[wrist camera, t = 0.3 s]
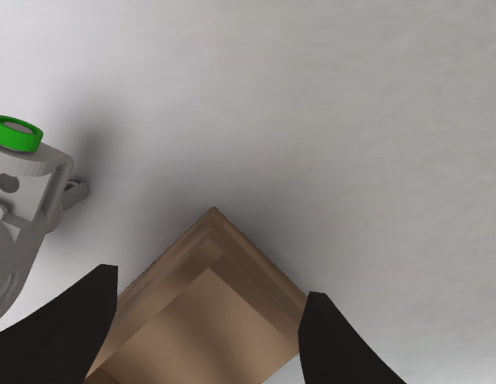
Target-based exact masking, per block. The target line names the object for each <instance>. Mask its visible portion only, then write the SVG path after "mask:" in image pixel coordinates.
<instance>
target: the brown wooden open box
mask: <svg viewBox="0 0 496 384" xmlns="http://www.w3.org/2000/svg"><path fill="white" fill-rule="evenodd" d="M307 299H308V297H307V296H306V295H305V294H304V293H303V292H302V291H301V290H300V289H299V288H298V287H297V286H296V285H295V284H294V283H293V282H292V281H291V280H290V279H289V278H287V277H286V276H285V275H284V274H283V273H282V272H281V271H280V270H279V269H278V268H277V267H276V266H275V265H274V264H273V263H272V262H271V261H270V260H269V259H268V258H267V257H266V256H265V255H264V254H263V253H262V252H261V251H260V250H259V249H258V248H257V247H256V246H254V245H253V244H252V243H251V242H250V241H249V240H248V239H247V238H246V237H245V236H244V235H243V234H242V233H241V232H240V231H239V230H238V229H237V228H236V227H235V226H234V225H233V224H232V223H231V222H230V221H229V220H228V219H227V218H226V217H225V216H224V215H223V214H222V213H220V212H219V211H218V210H217V209H216V208H215V207H213V208H211V209H210V210H209V211H208V212H207V213H206V214H205V215H204V216H203V217H202V218H201V219H200V220H199V221H198V222H197V223H196V224H194V225H193V226H192V227H191V228H190V229H189V230H188V231H187V232H186V233H185V234H184V235H183V236H182V237H181V238H180V239H178V240H177V241H176V242H175V243H174V244H173V245H172V246H171V247H170V248H169V249H168V250H167V251H166V252H165V253H164V254H162V255H161V256H160V257H159V258H158V259H157V260H156V261H155V262H154V263H153V264H152V265H151V266H150V267H149V268H148V269H146V270H145V271H144V272H143V273H142V274H141V275H140V276H139V277H138V278H137V279H136V280H135V281H134V282H133V283H132V284H130V285H129V286H128V287H127V288H126V289H125V290H124V291H123V292H122V293H121V294H120V295H119V296H118V297H117V310H116V313H115V316H114V319H113V321H112V324H111V327H110V329H109V332H108V335H107V337H106V339H105V341H104V343H103V345H102V347H101V349H100V351H99V353H98V355H97V357H96V358H95V360H94V362H93V364H92V366H91V368H90V370H89V372H88V374H87V376H86V378H85V380H84V381H83V383H82V384H261V383H262V382H264V381H265V380H266V379H267V378H269V377H270V376H271V375H272V374H273V373H275V372H276V371H277V370H278V369H280V368H281V367H282V366H283V365H284V364H286V363H287V362H288V361H289V360H291V359H292V358H293V357H294V356H296V355H297V354H298V353H299V344H298V329H299V325H300V322H301V319H302V315H303V312H304V309H305V305H306V302H307Z"/></svg>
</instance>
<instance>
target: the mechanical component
mask: <svg viewBox="0 0 496 384" xmlns="http://www.w3.org/2000/svg"><path fill="white" fill-rule="evenodd" d="M42 137H43V132H42V131H41V130H40V129H39V128H37V127H35V126H33V125H32V124H29V123H27V122H25V121H22V120H19V119H16V118H12V117H8V116H2V115H0V318H1V317H2V316H3V315H4V314H5V313H6V312H7V311H8V309H9V308H10V307H11V306H12V304H13V303H14V302H15V300H16V298H17V297H18V295H19V294H20V292H21V290H22V288H23V286H24V284H25V282H26V279H27V277H28V275H29V272H30V270H31V267H32V265H33V263H34V260H35V258H36V255H37V253H38V251H39V248H40V246H41V243H42V241H43V239H44V236H45V234H47V233H50V232H52V231H53V230H55V229H56V228H57V227H58V226H59V225H60V223H61V220H62V217H63V212H64V211H65V210H67V209H68V208H70V207H71V206H73V205H75V204H76V203H78V202H79V201H81V200H82V199H84V198H85V197H86V196H87V195H88V192H89V187H88V184H86V183H84V182H82V183H80V184H79V183H77V182H76V180H77V179H76V178H75V177H70V178H69V176H70V174H71V171H72V167H73V158H72V157H71V156H69V155H67V154H65V153H63V152H61V151H59V150H57V149H55V148H53V147H50V146H48V145H46V144H44V143H42V142H41V139H42Z"/></svg>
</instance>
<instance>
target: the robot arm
mask: <svg viewBox="0 0 496 384" xmlns="http://www.w3.org/2000/svg"><path fill="white" fill-rule="evenodd" d="M117 284H118V266H113V265H105V264H100V265H99V266H97V267H96V268H95V269H93V270H92V271H91V272H89V273H88V274H87V275H85V276H84V277H83V278H82V279H80V280H79V281H78V282H76V283H75V284H74V285H72V286H71V287H70V288H68V289H67V290H65V291H64V292H63V293H61V294H60V295H59V296H57V297H56V298H54V299H53V300H52V301H50V302H49V303H47V304H46V305H44V306H43V307H41V308H39V309H38V310H36V311H35V312H33V313H32V314H30V315H29V316H27V317H26V318H24V319H22V320H21V321H19V322H17V323H16V324H14V325H12V326H10V327H8V328H7V329H5V330H3V331H1V332H0V384H82V383H83V381H84V380H85V378H86V376H87V374H88V372H89V370H90V368H91V366H92V364H93V362H94V360H95V358H96V357H97V355H98V353H99V351H100V349H101V347H102V345H103V343H104V341H105V339H106V337H107V335H108V332H109V329H110V327H111V324H112V321H113V319H114V316H115V313H116V310H117ZM298 344H299V354H300V361H301V366H302V370H303V375H304V380H305V384H406V383H405V382H404V381H403V380H402V379H401V378H400V377H399V376H398V375H397V374H396V373H395V372H394V371H393V370H391V369H390V368H389V367H388V366H387V365H386V364H385V363H384V362H383V361H382V360H381V359H380V358H379V357H378V356H377V354H376V353H375V352H374V351H373V350H372V349H371V348H370V347H369V346H368V345H367V344H366V342H365V341H364V340H363V339H362V338H361V337H360V336H359V334H358V333H357V332H356V331H355V330H354V328H353V327H352V326H351V325H350V324H349V322H348V321H347V320H346V319H345V317H344V316H343V315H342V314H341V312H340V311H339V310H338V309H337V307H336V306H335V305H334V304H333V302H332V301H331V300H330V298H329V297H328V296H327V295H326V294H325V293H319V292H311V291H310V292H309V295H308V299H307V302H306V305H305V309H304V312H303V315H302V319H301V322H300V325H299V329H298Z"/></svg>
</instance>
